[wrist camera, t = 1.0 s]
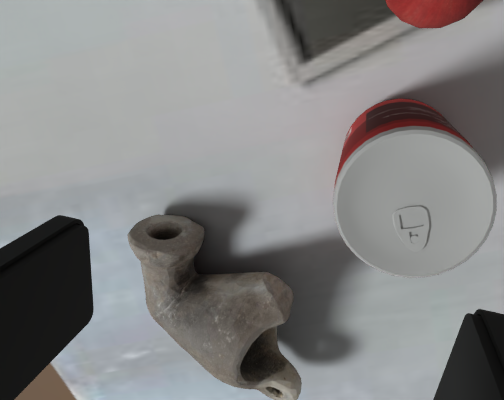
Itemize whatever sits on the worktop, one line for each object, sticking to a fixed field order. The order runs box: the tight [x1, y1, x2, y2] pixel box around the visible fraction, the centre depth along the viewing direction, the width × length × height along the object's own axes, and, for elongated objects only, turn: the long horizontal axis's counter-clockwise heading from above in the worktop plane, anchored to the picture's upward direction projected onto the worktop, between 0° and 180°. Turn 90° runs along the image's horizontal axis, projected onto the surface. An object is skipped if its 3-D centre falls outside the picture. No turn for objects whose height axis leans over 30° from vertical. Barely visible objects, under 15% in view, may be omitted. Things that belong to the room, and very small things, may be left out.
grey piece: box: [128, 215, 302, 400], centre depth 36 cm, size 16×9×15 cm
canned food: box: [333, 99, 497, 278], centre depth 25 cm, size 8×8×11 cm
